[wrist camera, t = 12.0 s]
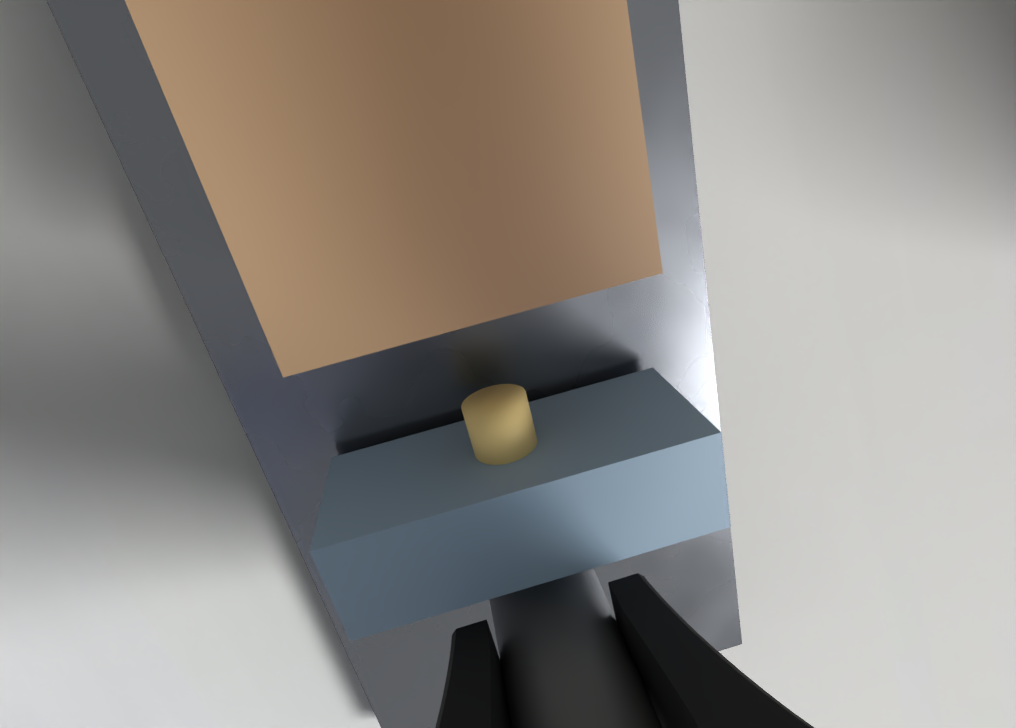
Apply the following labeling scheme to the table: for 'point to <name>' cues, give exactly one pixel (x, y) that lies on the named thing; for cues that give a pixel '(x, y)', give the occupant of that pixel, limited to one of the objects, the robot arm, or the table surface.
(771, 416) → the table surface
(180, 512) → the table surface
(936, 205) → the table surface
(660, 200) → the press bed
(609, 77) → the brown block
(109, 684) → the table surface
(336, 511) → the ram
